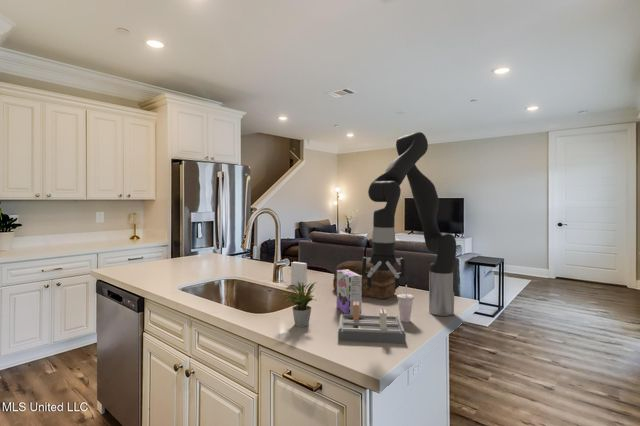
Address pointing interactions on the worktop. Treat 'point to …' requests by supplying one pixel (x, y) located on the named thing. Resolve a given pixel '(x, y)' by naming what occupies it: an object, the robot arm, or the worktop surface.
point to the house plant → (301, 304)
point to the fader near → (383, 319)
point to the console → (370, 329)
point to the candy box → (348, 290)
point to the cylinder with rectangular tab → (298, 273)
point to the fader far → (356, 310)
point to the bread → (379, 280)
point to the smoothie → (405, 305)
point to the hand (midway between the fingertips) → (382, 288)
